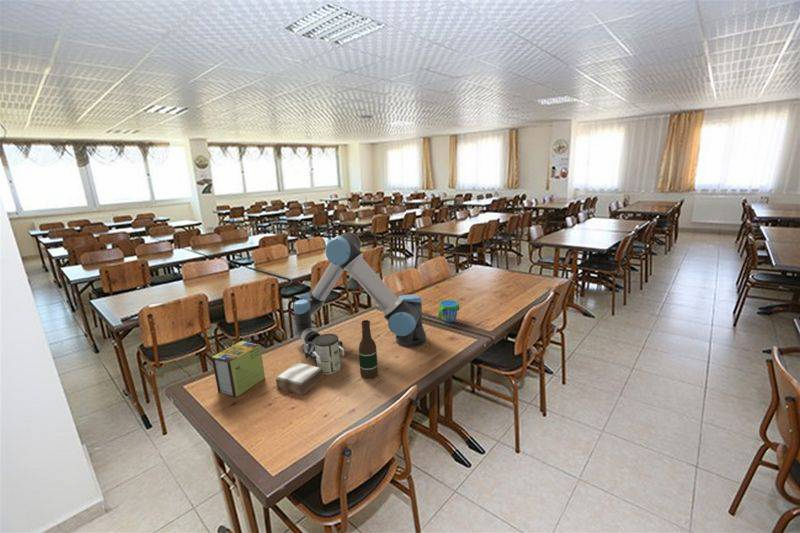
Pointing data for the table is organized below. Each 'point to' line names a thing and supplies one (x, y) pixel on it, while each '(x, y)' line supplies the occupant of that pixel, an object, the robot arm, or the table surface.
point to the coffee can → (328, 353)
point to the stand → (299, 378)
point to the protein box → (238, 368)
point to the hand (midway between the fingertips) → (331, 356)
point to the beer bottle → (367, 353)
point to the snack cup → (448, 310)
